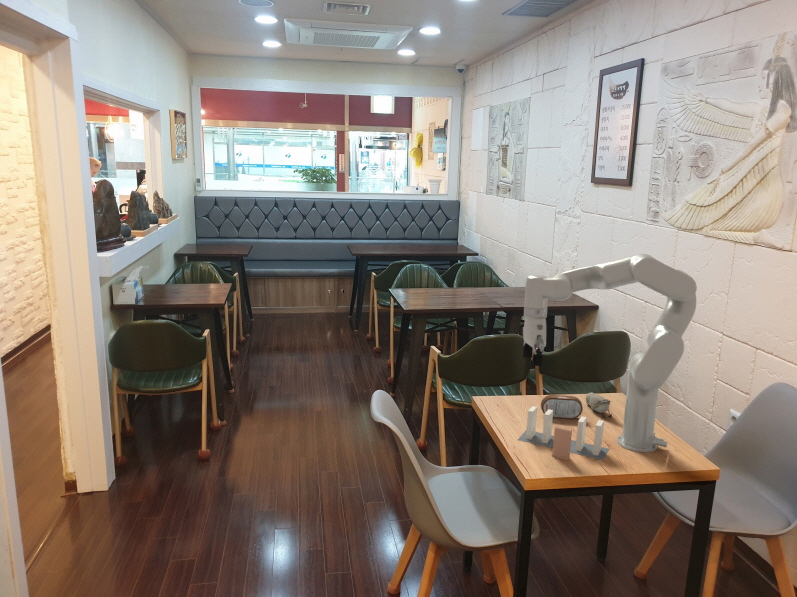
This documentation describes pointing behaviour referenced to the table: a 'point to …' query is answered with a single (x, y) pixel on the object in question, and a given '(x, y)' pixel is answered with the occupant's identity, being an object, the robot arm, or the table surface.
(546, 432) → the tile
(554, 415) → the tin
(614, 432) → the table surface
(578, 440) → the tile
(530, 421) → the tile
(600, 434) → the tile
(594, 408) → the decorative bird
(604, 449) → the slate mat
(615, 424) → the table surface
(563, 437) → the tile
